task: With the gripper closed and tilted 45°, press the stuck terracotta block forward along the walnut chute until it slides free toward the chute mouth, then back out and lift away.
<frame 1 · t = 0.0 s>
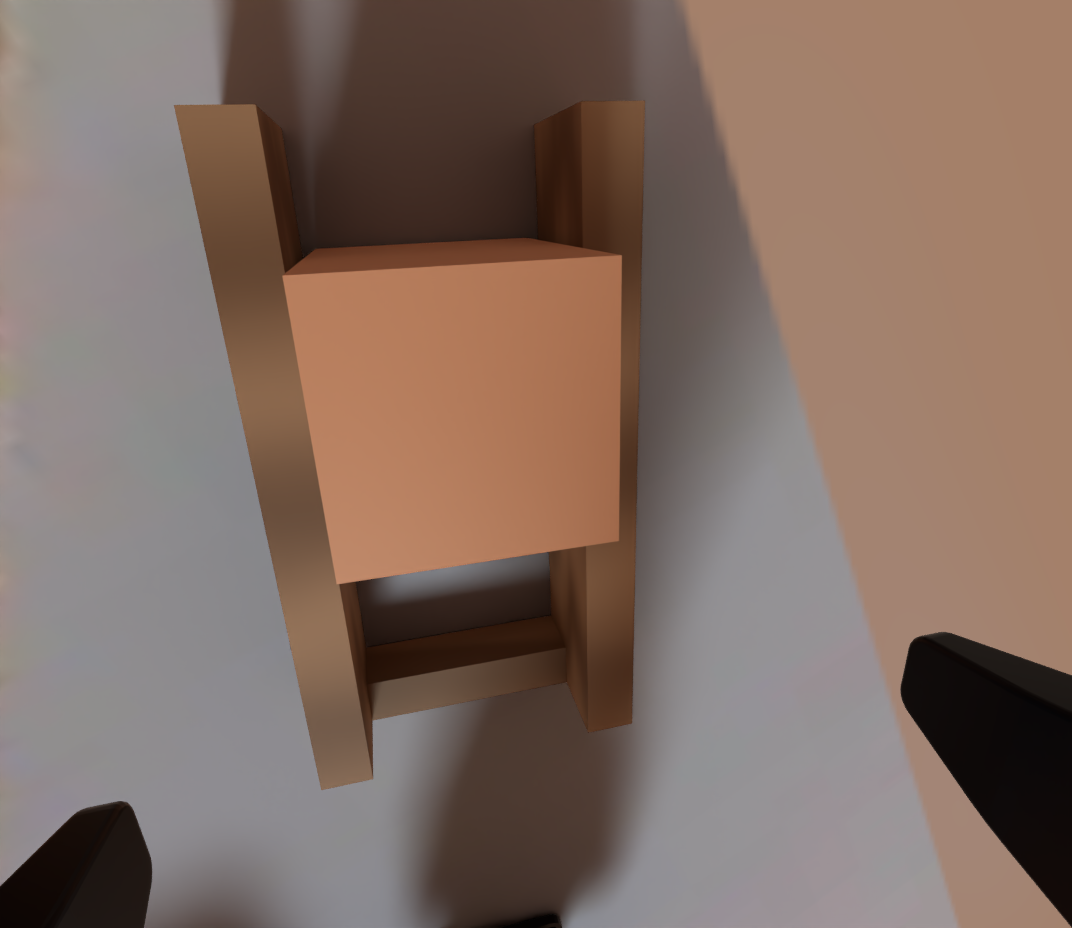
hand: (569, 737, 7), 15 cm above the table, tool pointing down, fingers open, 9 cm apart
terracotta block: (449, 377, 16), point 4 cm above the table, slide at 0.0 cm
walnut chute: (442, 437, 21), on the table
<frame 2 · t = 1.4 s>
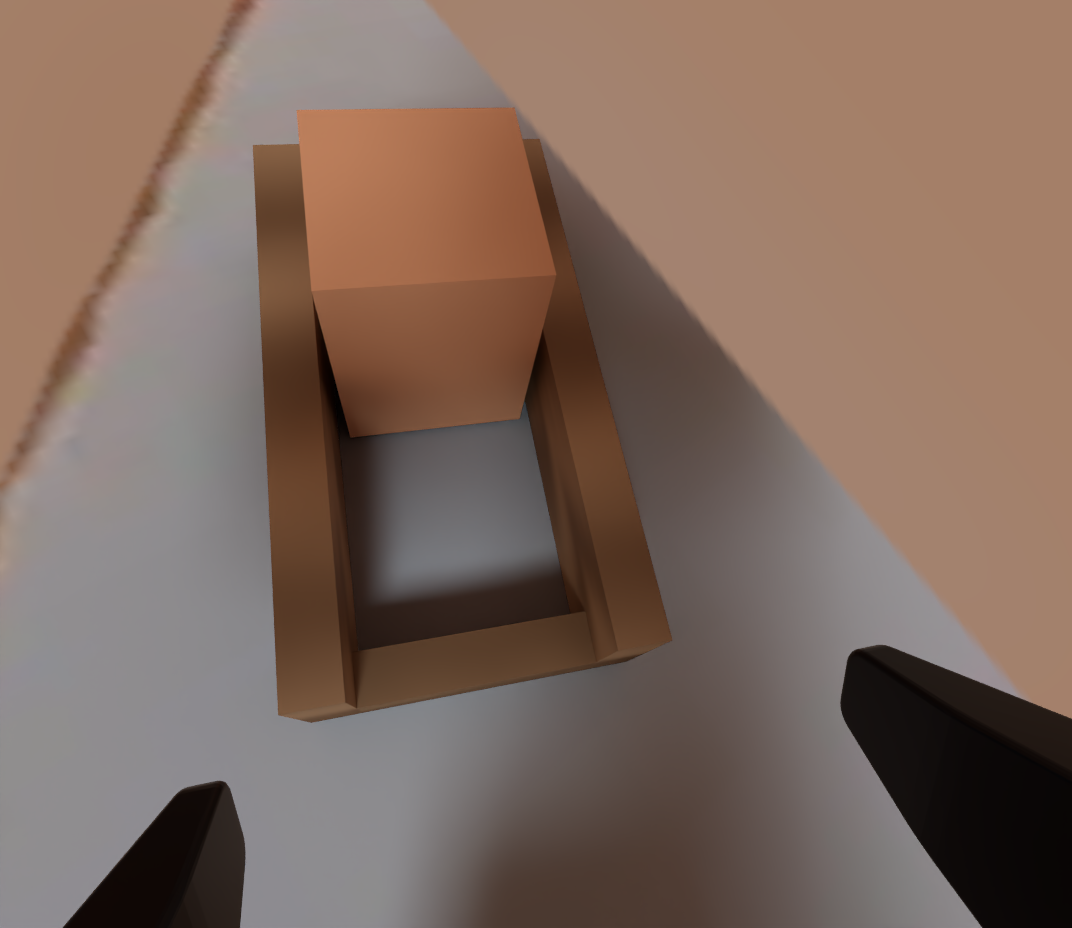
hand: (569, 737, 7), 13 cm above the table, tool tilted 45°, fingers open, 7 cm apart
terracotta block: (424, 287, 21), point 4 cm above the table, slide at 0.0 cm
walnut chute: (437, 430, 24), on the table
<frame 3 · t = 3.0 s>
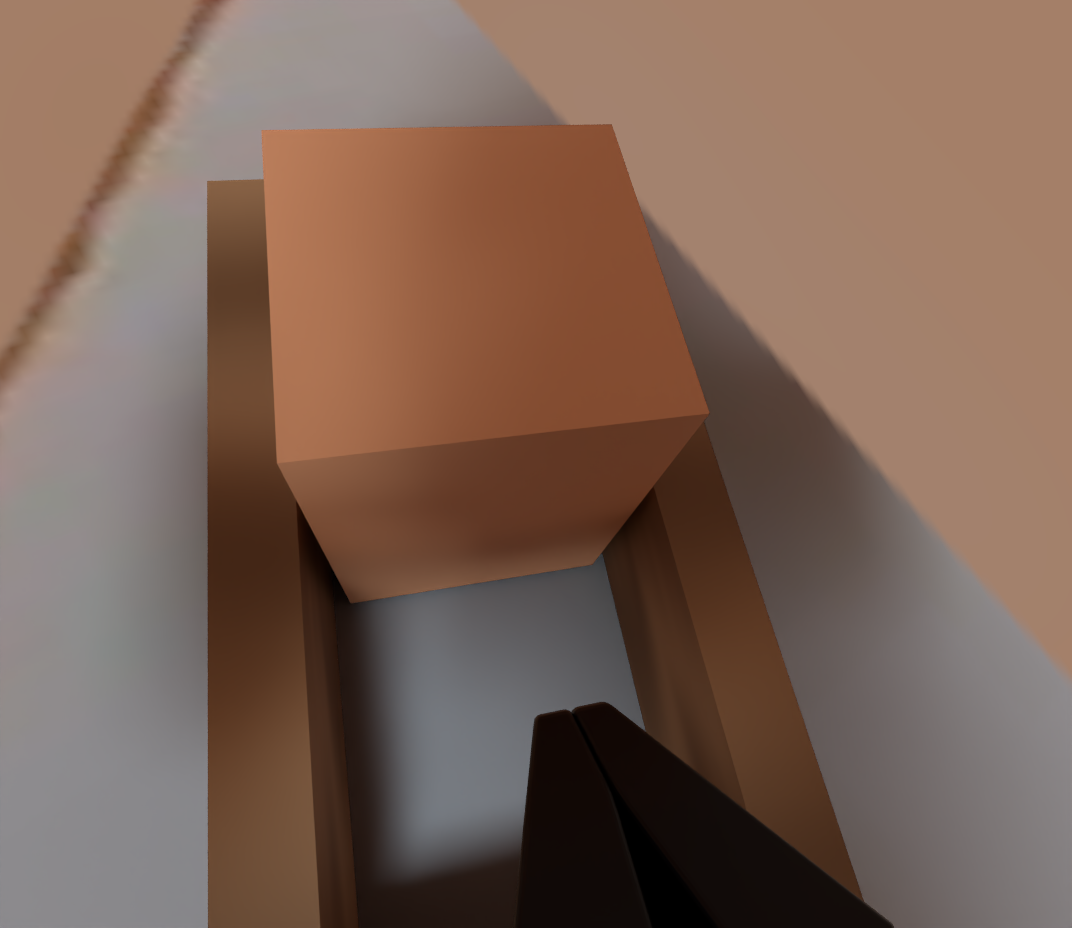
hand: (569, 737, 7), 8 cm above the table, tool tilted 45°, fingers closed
terracotta block: (463, 395, 14), point 4 cm above the table, slide at 0.0 cm
walnut chute: (475, 585, 16), on the table
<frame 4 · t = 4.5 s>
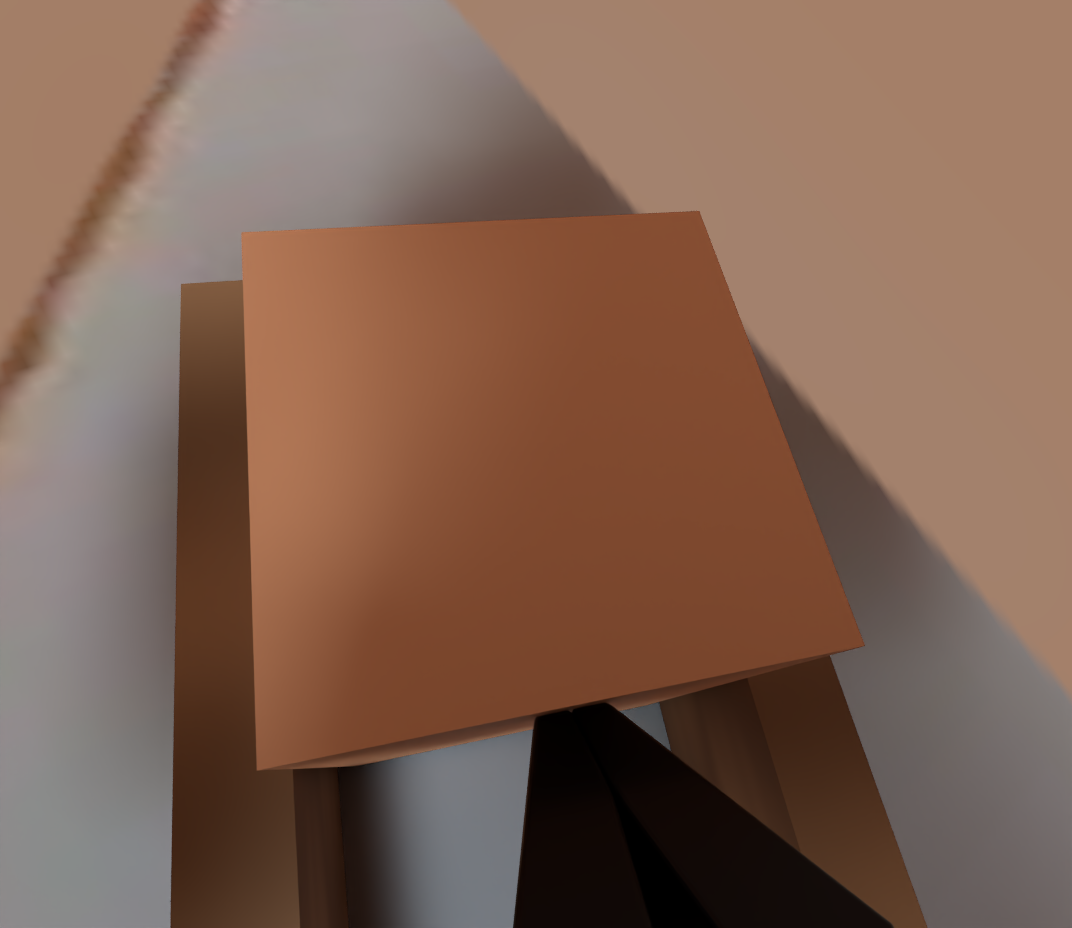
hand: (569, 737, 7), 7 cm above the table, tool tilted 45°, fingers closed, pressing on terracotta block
terracotta block: (499, 535, 11), point 4 cm above the table, slide at 0.6 cm, touching gripper
walnut chute: (511, 764, 13), on the table
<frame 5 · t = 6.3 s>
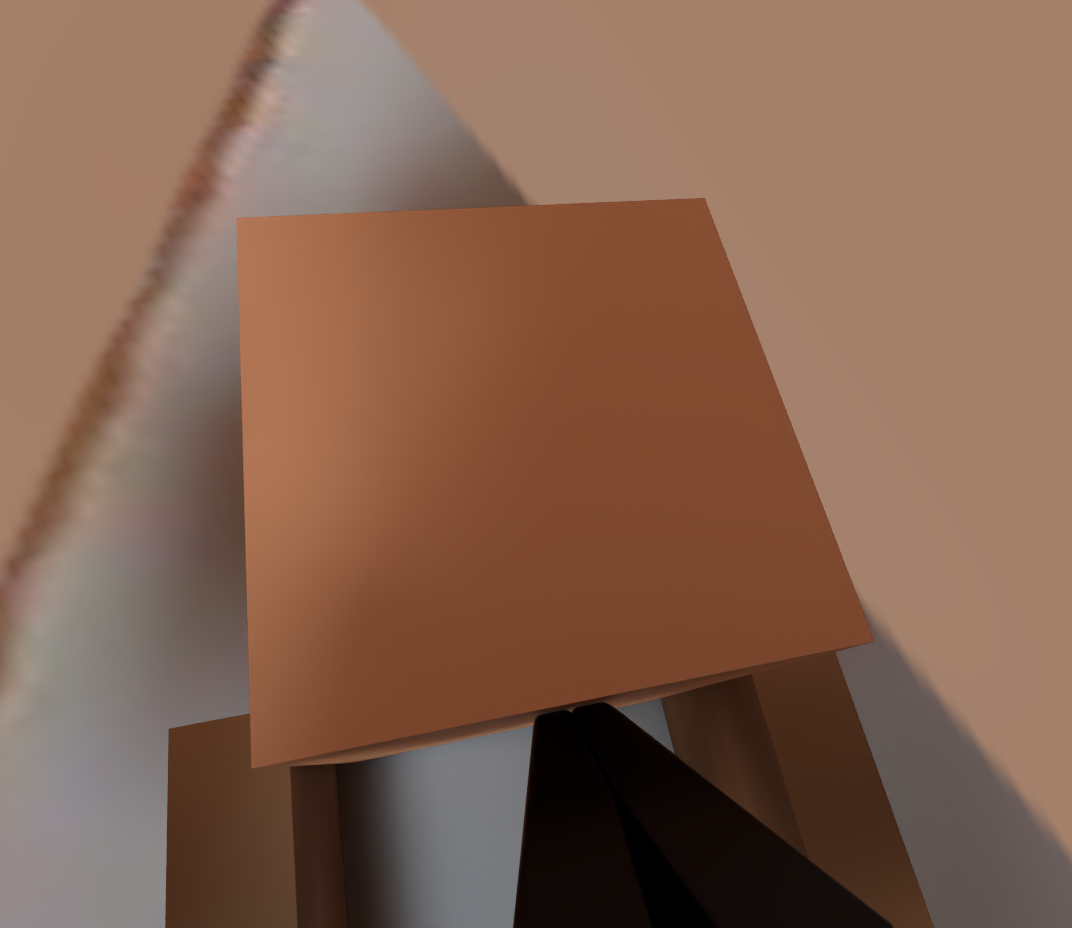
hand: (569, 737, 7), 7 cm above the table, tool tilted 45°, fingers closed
terracotta block: (500, 529, 11), point 4 cm above the table, slide at 8.2 cm
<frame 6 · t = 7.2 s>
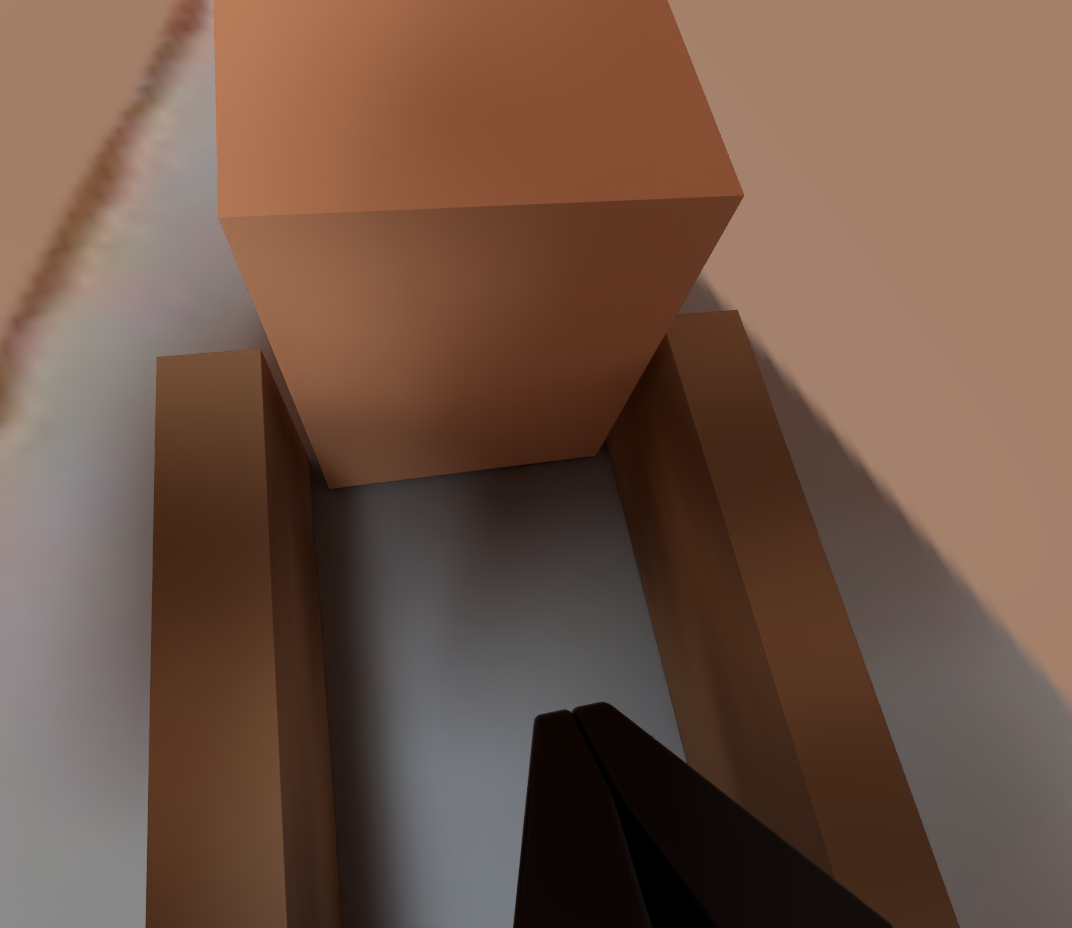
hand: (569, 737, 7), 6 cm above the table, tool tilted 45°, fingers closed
terracotta block: (454, 241, 12), point 4 cm above the table, slide at 8.2 cm
walnut chute: (536, 888, 12), on the table
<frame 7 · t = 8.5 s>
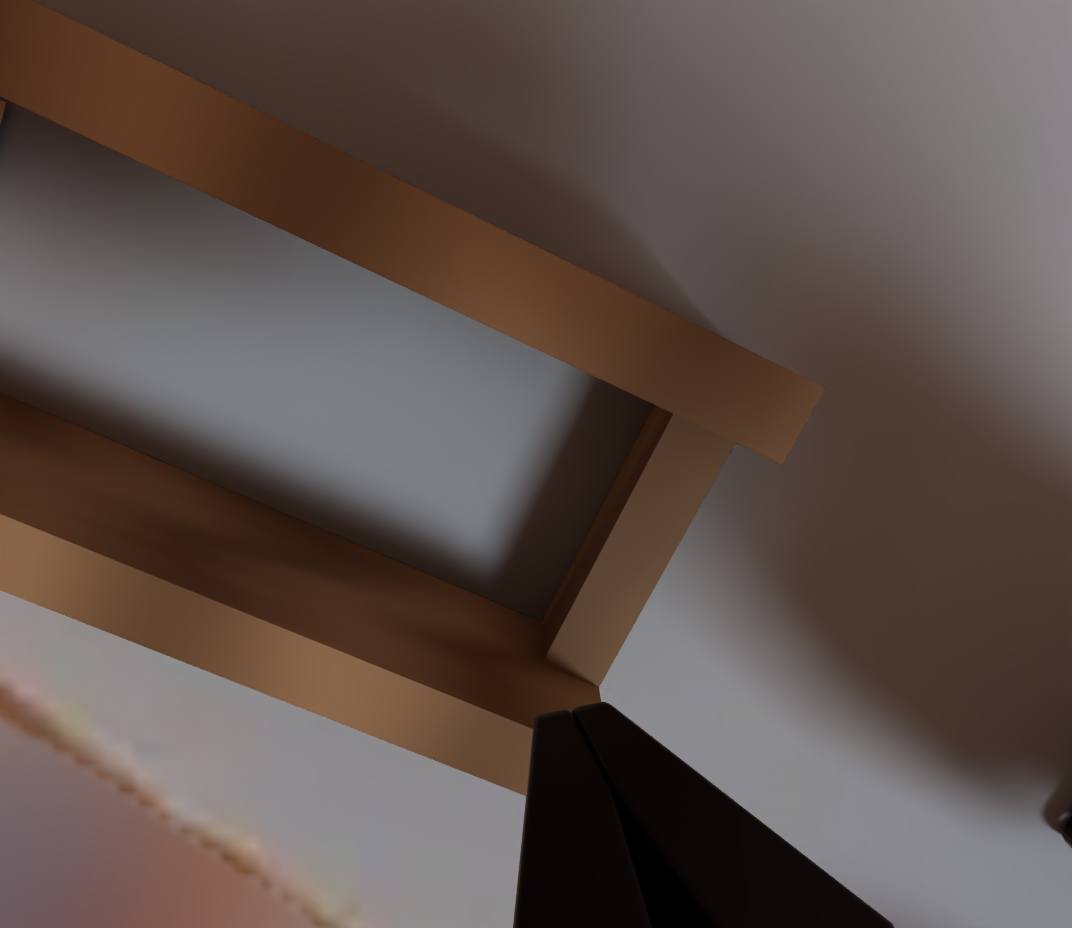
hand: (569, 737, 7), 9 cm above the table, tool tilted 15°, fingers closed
walnut chute: (319, 387, 16), on the table
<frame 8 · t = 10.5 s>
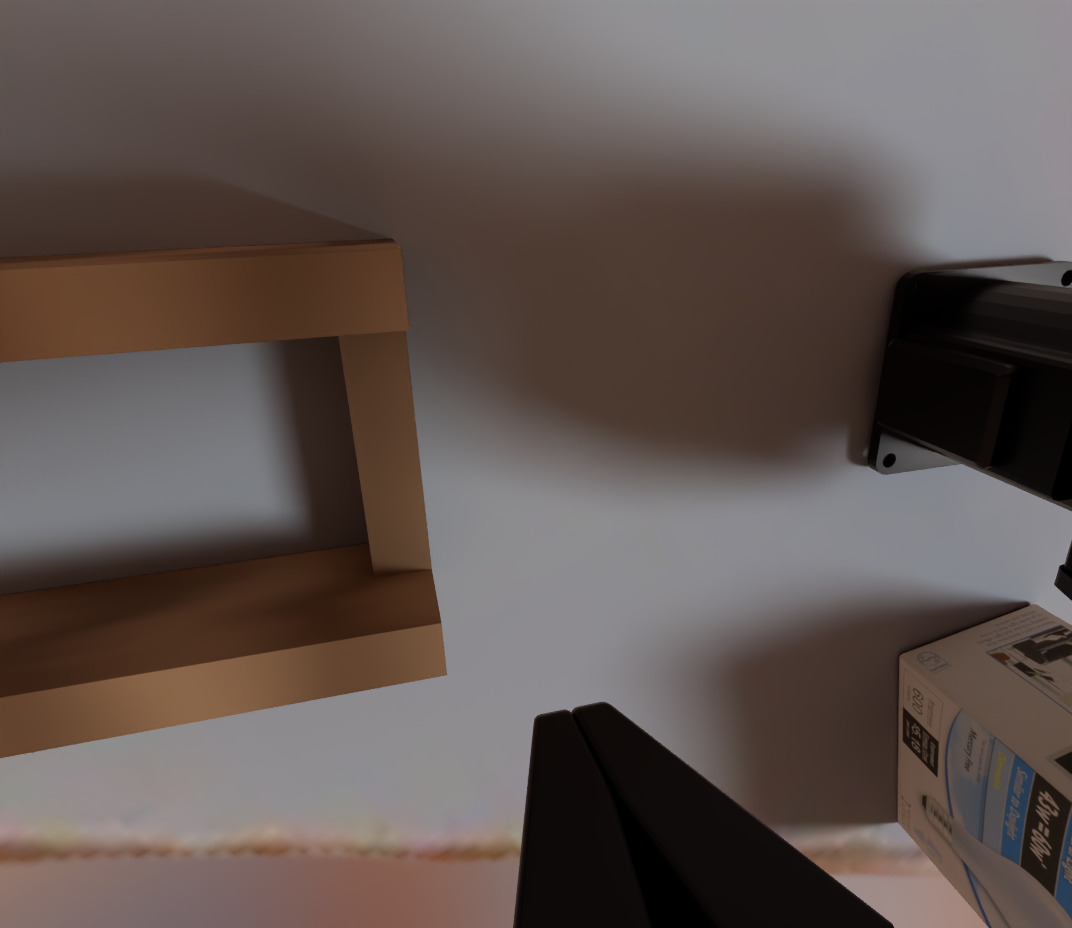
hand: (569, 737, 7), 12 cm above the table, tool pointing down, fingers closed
walnut chute: (46, 465, 16), on the table
light bulb box: (957, 715, 29), on the table
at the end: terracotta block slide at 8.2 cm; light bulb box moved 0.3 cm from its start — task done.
